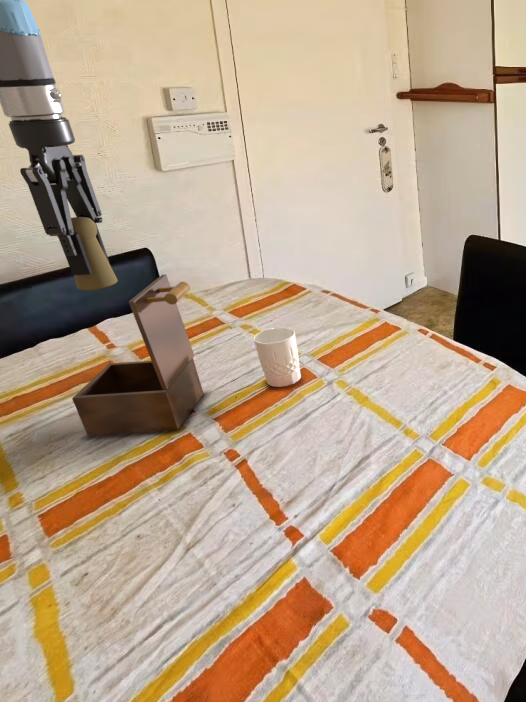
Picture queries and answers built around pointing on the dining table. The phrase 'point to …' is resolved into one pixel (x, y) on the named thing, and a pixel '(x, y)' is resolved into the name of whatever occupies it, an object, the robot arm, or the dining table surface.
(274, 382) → the white cup
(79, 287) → the cork
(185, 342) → the lid
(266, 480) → the dining table surface
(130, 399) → the chest
